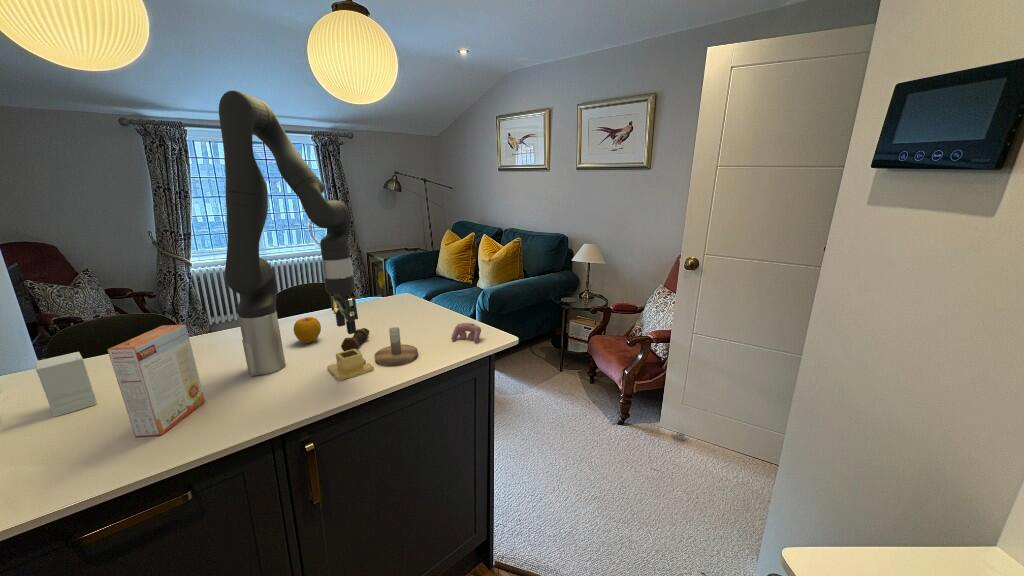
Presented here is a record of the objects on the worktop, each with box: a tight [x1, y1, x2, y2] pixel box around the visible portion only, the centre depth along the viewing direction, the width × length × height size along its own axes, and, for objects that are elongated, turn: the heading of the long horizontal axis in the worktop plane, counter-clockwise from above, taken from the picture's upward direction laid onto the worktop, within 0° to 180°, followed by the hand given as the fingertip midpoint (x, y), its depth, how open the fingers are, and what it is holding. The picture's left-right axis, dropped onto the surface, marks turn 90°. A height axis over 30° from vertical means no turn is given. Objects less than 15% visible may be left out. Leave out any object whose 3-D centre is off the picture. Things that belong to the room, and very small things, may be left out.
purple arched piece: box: [451, 322, 482, 344], centre depth 134 cm, size 10×5×7 cm, turn 75°
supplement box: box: [35, 351, 98, 418], centre depth 94 cm, size 7×7×13 cm
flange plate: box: [326, 349, 375, 382], centre depth 112 cm, size 10×10×5 cm
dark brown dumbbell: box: [340, 327, 370, 352], centre depth 131 cm, size 6×5×15 cm
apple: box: [293, 316, 322, 344], centre depth 133 cm, size 8×8×9 cm
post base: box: [374, 326, 419, 367], centre depth 120 cm, size 13×13×10 cm
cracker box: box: [107, 324, 206, 438], centre depth 87 cm, size 14×6×21 cm, turn 4°
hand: (346, 329), depth 110 cm, fingers open, 8 cm apart
